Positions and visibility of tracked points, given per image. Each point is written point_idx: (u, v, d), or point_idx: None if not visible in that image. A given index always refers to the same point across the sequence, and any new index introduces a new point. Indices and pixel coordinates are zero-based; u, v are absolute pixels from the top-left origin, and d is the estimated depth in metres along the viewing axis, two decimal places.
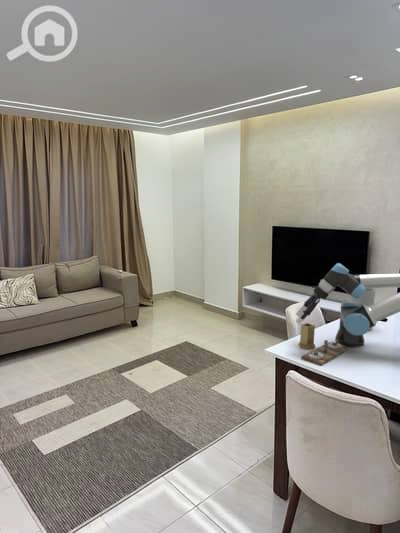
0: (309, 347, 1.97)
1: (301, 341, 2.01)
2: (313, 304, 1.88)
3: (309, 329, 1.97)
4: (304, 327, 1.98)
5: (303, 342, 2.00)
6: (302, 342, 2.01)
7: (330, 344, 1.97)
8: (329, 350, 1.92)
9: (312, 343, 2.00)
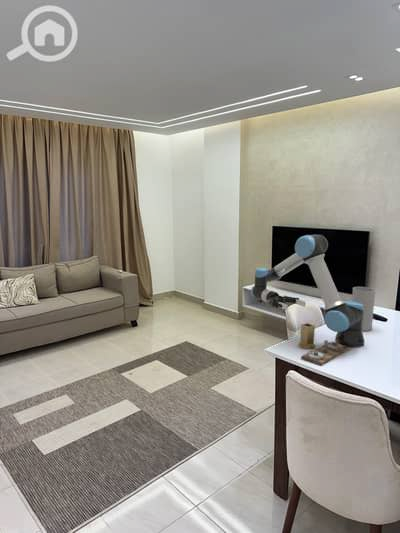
0: (309, 347, 1.97)
1: (301, 341, 2.01)
2: (270, 302, 2.13)
3: (309, 329, 1.97)
4: (304, 327, 1.98)
5: (303, 342, 2.00)
6: (302, 342, 2.01)
7: (330, 344, 1.97)
8: (329, 350, 1.92)
9: (312, 343, 2.00)
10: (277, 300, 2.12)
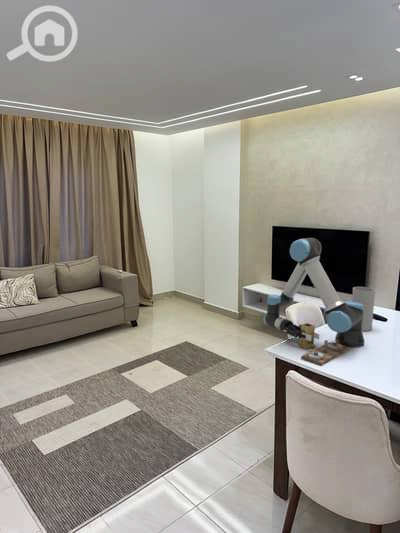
0: (309, 347, 1.97)
1: (301, 341, 2.01)
2: (288, 332, 2.04)
3: (309, 329, 1.97)
4: (304, 327, 1.98)
5: (303, 342, 2.00)
6: (302, 342, 2.01)
7: (330, 344, 1.97)
8: (329, 350, 1.92)
9: (312, 343, 2.00)
10: (296, 330, 2.04)
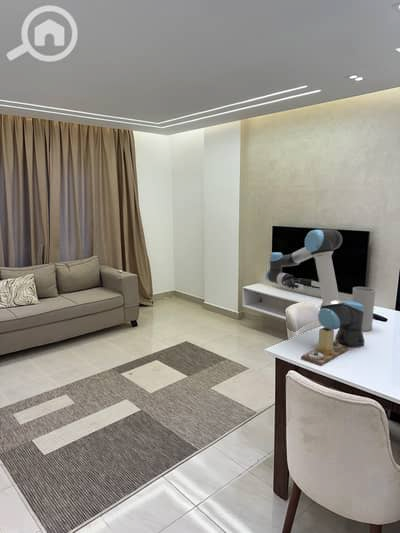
0: (328, 353, 1.86)
1: (319, 346, 1.90)
2: (286, 284, 2.19)
3: (328, 334, 1.86)
4: (323, 332, 1.87)
5: (322, 347, 1.89)
6: (320, 347, 1.89)
7: None
8: None
9: (331, 348, 1.89)
10: (293, 281, 2.17)
